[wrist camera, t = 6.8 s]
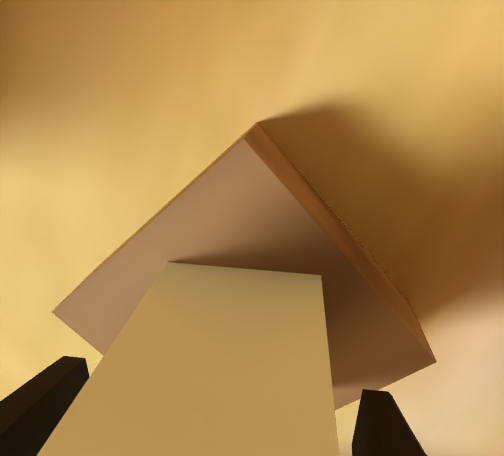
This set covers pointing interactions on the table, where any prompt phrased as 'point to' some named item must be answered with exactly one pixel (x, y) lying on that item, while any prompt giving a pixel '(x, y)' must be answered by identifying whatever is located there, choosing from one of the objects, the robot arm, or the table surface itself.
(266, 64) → the table surface
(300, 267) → the walnut box
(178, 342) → the cream cube with panel
